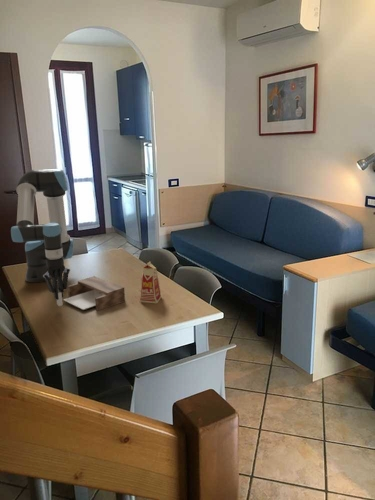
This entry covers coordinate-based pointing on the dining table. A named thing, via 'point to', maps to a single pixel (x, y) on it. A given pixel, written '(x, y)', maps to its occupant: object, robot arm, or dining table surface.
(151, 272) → the milk carton
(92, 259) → the dining table surface
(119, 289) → the overhang shelf
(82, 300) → the plate
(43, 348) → the dining table surface
